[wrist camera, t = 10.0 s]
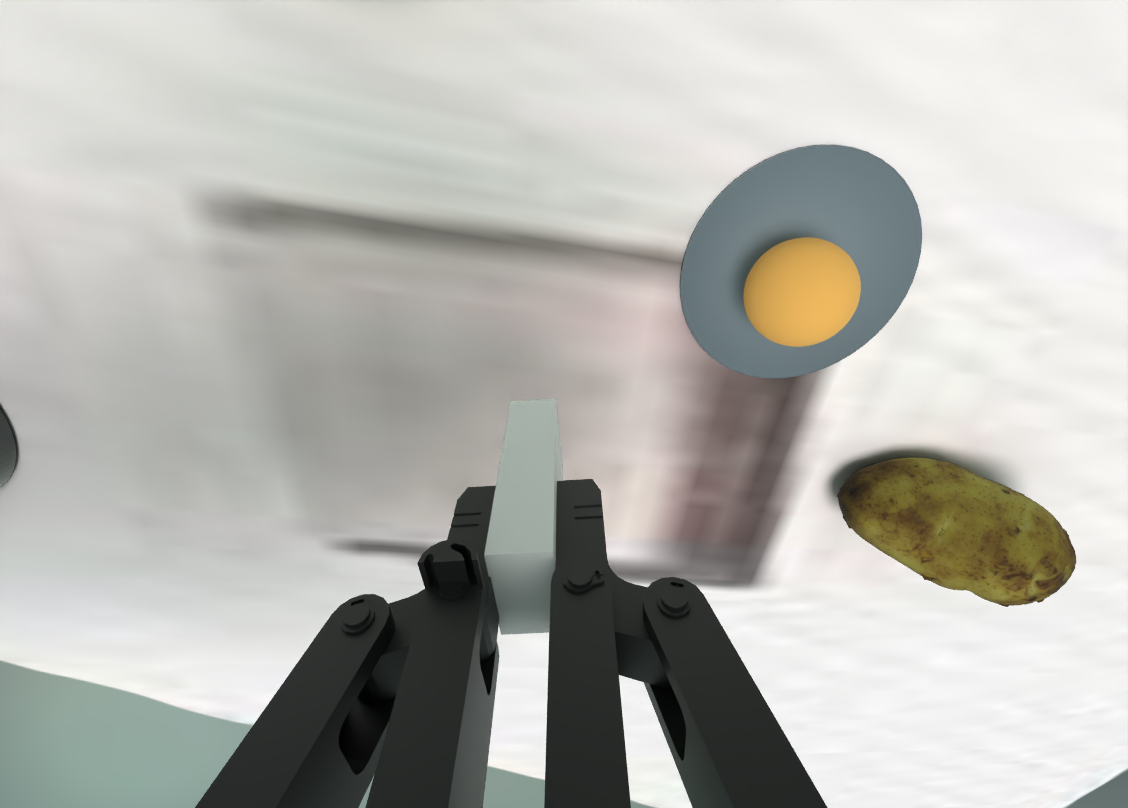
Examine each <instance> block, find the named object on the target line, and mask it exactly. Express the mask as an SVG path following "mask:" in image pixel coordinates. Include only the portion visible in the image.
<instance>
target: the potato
mask: <svg viewBox="0 0 1128 808" xmlns="http://www.w3.org/2000/svg"><path fill="white" fill-rule="evenodd" d="M837 497H838V500H839V506H840V509H841V511H842V514H843V518H844V520H845V521H846V523H847V525H848V527H849V528H852V529H853V530H854V531H855V532H856V533H857V534H858V535H859V536H860V537H861V538H863V539H864V540H865V541H867V542H868V543H870V544H872V545H873V546H874V547H876V548H877V549H879V550H880V551H882V552H883V553H885V554H887V555H888V556H890V557H892V558H894V559H895V560H897V561H898V562H900V563H902V564H903V565H905V566H907V567H908V568H910V569H911V570H913V571H915V572H916V573H918V574H920V575H921V576H922V577H923V578H924V580H929V581H931V582H933V583H935V584H937V585H940V586H942V587H945V588H948V589H953V590H968V591H971V592H972V593H974V594H975V595H977V596H979V597H981V598H983V599H985V600H988V601H990V602H994V603H997V604H1000V605H1002V606H1005V607H1008V606H1009V605H1022V604H1029V603H1033V602H1035V601H1037V602H1038V603H1039V602H1042V601H1043V600H1044V599H1045V598H1047V597H1049V596H1050V595H1052V594H1053V593H1055V592H1057V591H1058V590H1059V589H1060V588H1061V587H1062V586H1063V585H1064V584H1065V583H1066V582H1067V581H1068V579H1069V578H1070V576H1071V574H1072V573H1073V571H1074V569H1075V564H1076V555H1075V550H1074V548H1073V546H1072V544H1071V541H1070V539H1069V535H1068V534H1067V531H1065V530H1064V529H1063V528H1062V526H1061V525H1060V523H1059V522H1058V521H1057V520H1056V518H1055V517H1054V516H1053V515H1052V514H1051V513H1050V512H1048V511H1047V510H1046V509H1045V508H1044V507H1042V506H1041V505H1039V504H1038V503H1036V502H1035V501H1033V500H1031V499H1030V498H1028V497H1026V496H1024V494H1021V493H1019V492H1016V491H1014V490H1012V489H1010V488H1008V487H1006V486H1004V485H1002V484H999V483H997V482H994V481H991V480H988V479H985V478H983V477H980V476H978V475H975V474H973V473H972V472H970V471H968V470H966V469H964V468H962V467H960V466H958V465H955V464H952V463H948V462H944V461H939V460H934V459H928V458H898V459H892V460H888V461H884V462H881V463H877V464H874V465H871V466H868V467H865V468H862V469H860V470H858V471H856V472H855V473H854V474H852V475H851V476H850V477H849V478H848V479H847V481H846V482H845V483H844V484H843V485H842V487H841V489H840V490H839V493H838V495H837Z"/></svg>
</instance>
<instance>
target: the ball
mask: <svg viewBox="0 0 1128 808" xmlns="http://www.w3.org/2000/svg"><path fill="white" fill-rule="evenodd" d="M860 292H861V281H860V276H859V273H858V270H857V267H856V265H855V263H854V261H853V260H852V259H851V257H850V256H849V255H848V254H847V253H846V252H845V251H844V250H843V249H841V248H840V247H839V246H837V245H835V244H834V243H832V242H829V241H826V240H823V239H819V238H812V237H803V238H796V239H791V240H787V241H785V242H782V243H780V244H778V245H776V246H774V247H772V248H771V249H770V250H768V251H767V252H765V253H764V254H763V255H762V256H761V257H760V258H759V259H758V260H757V262H756V263H755V264H754V266H753V267H752V269H751V270H750V272H749V274H748V276H747V279H746V283H745V287H744V296H743V299H744V306H745V311H746V314H747V316H748V318H749V320H750V322H751V324H752V325H753V326H754V328H755V329H756V330H757V331H758V332H759V333H760V334H762V335H763V336H764V337H766V338H767V339H769V340H771V341H773V342H775V343H778V344H781V345H785V346H792V347H803V346H810V345H814V344H817V343H820V342H823V341H825V340H827V339H829V338H831V337H832V336H834V335H835V334H836V333H838V332H839V331H840V330H841V329H842V328H843V327H844V326H845V325H846V324H847V323H848V322H849V320H850V319H851V317H852V316H853V314H854V313H855V310H856V308H857V306H858V303H859V299H860Z"/></svg>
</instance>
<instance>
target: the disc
mask: <svg viewBox="0 0 1128 808" xmlns="http://www.w3.org/2000/svg"><path fill="white" fill-rule="evenodd" d="M803 237H812V238H819V239H823V240H826V241H829V242H832V243H834V244H835V245H837V246H839V247H840V248H841V249H843V250H844V251H845V252H846V253H847V254H848V255H849V256H850V257H851V259H852V260H853V261H854V263H855V265H856V267H857V270H858V273H859V276H860V281H861V292H860V299H859V303H858V306H857V308H856V310H855V313H854V314H853V316H852V317H851V319H850V320H849V322H848V323H847V324H846V325H845V326H844V327H843V328H842V329H841V330H840V331H839V332H838V333H836V334H835V335H834V336H832V337H831V338H829V339H827V340H825V341H823V342H820V343H817V344H814V345H810V346H803V347H792V346H785V345H781V344H778V343H775V342H773V341H771V340H769V339H767V338H766V337H764V336H763V335H762V334H760V333H759V332H758V331H757V330H756V329H755V328H754V326H753V325H752V324H751V322H750V320H749V318H748V316H747V314H746V311H745V306H744V299H743V296H744V287H745V283H746V279H747V276H748V274H749V272H750V270H751V269H752V267H753V266H754V264H755V263H756V262H757V260H758V259H759V258H760V257H761V256H762V255H763V254H764V253H765V252H767V251H768V250H770V249H771V248H772V247H774V246H776V245H778V244H780V243H782V242H785V241H787V240H791V239H796V238H803ZM921 244H922V227H921V218H920V214H919V209H918V205H917V203H916V201H915V198H914V196H913V193H912V191H911V190H910V188H909V187H908V185H907V183H906V182H905V180H904V179H903V178H902V177H901V176H900V175H899V174H898V172H897V171H896V170H895V169H894V168H893V167H891V166H890V165H889V164H887V163H886V162H885V161H883V160H882V159H880V158H878V157H876V156H874V155H872V154H870V153H868V152H865V151H862V150H859V149H855V148H852V147H846V146H838V145H814V146H808V147H801V148H797V149H793V150H790V151H786V152H783V153H780V154H778V155H776V156H773V157H771V158H769V159H766V160H764V161H763V162H761V163H759V164H757V165H756V166H754V167H752V168H751V169H749V170H748V171H746V172H745V173H743V174H742V175H741V176H739V177H738V178H737V179H735V180H734V181H733V182H732V183H731V184H730V185H729V186H728V187H727V188H726V189H724V190H723V191H722V192H721V193H720V194H719V196H718V197H717V198H716V199H715V200H714V201H713V203H712V204H711V205H710V206H709V207H708V209H707V210H706V212H705V213H704V215H703V216H702V218H701V219H700V221H699V222H698V224H697V226H696V228H695V230H694V232H693V234H692V236H691V238H690V241H689V244H688V246H687V249H686V252H685V256H684V260H683V264H682V269H681V278H680V297H681V303H682V309H683V313H684V316H685V319H686V322H687V324H688V326H689V328H690V330H691V332H692V334H693V336H694V338H695V339H696V340H697V342H698V343H699V345H700V346H701V347H702V348H703V349H704V350H705V351H706V352H707V353H708V354H709V355H710V356H711V357H712V358H714V359H715V360H716V361H718V362H719V363H720V364H722V365H724V366H726V367H728V368H729V369H732V370H734V371H737V372H739V373H742V374H746V375H750V376H754V377H763V378H786V377H794V376H800V375H804V374H808V373H812V372H815V371H818V370H821V369H823V368H826V367H828V366H830V365H832V364H835V363H837V362H839V361H840V360H842V359H844V358H846V357H847V356H849V355H851V354H852V353H854V352H855V351H856V350H858V349H859V348H861V347H862V346H863V345H865V344H866V343H867V342H868V341H869V340H870V339H872V338H873V337H874V336H875V335H876V334H877V333H878V332H879V331H880V330H881V329H882V328H883V327H884V326H885V325H886V324H887V322H888V321H889V320H890V319H891V317H892V316H893V315H894V313H895V312H896V311H897V309H898V308H899V306H900V305H901V303H902V301H903V300H904V298H905V296H906V294H907V292H908V290H909V288H910V286H911V284H912V282H913V279H914V276H915V273H916V270H917V267H918V263H919V258H920V253H921Z"/></svg>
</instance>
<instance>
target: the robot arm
mask: <svg viewBox="0 0 1128 808" xmlns="http://www.w3.org/2000/svg"><path fill="white" fill-rule="evenodd" d="M15 463H16V446H15V441H14V437H13V434H12V431H11V429H10V426H9V424H8V422H7V420H6V418H5V417H4V415H3V413H2V412H1V410H0V487H1V486H3V485H4V484H5V483H6V482H7V481H8V479H9V478H10V476H11V475H12V473H13V471H14V468H15ZM418 566H419V570H420V573H421V576H422V579H423V583H424V586H425V589H424V590H422V591H421V592H419V593H418V594H415V595H413V596H410V597H408V598H405V599H402V600H399V601H396V602H393V603H390V604H388V603H387V602H386V601H385V599H384V598H383V597H380V596H377V595H375V594H364V595H360V596H357V597H354V598H351V599H350V600H348V601H347V602H345V603H343V604H342V605H340V606H339V607H338V608H337V610H336V611H335V612H334V613H333V614H332V615H331V616H330V618H329V619H328V621H327V622H326V623H325V625H324V626H323V628H322V629H321V630H320V632H319V633H318V635H317V636H316V638H315V639H314V640H313V642H312V643H311V645H310V646H309V647H308V649H307V650H306V652H305V653H304V654H303V656H302V657H301V659H300V660H299V662H298V663H297V664H296V666H295V667H294V669H293V670H292V671H291V673H290V674H289V676H288V677H287V678H286V680H285V681H284V683H283V684H282V686H281V687H280V688H279V690H278V691H277V693H276V694H275V695H274V697H273V698H272V700H271V701H270V703H269V704H268V705H267V707H266V708H265V710H264V711H263V712H262V714H261V715H260V717H259V718H258V719H257V721H256V722H255V724H254V725H253V727H252V728H251V729H250V731H249V732H248V734H247V735H246V736H245V738H244V739H243V741H242V742H241V743H240V745H239V746H238V748H237V749H236V751H235V752H234V753H233V755H232V756H231V758H230V759H229V760H228V762H227V763H226V765H225V766H224V767H223V769H222V770H221V772H220V773H219V775H218V776H217V778H216V779H215V780H214V782H213V783H212V784H211V786H210V788H209V789H208V790H207V792H206V793H205V794H204V796H203V797H202V799H201V800H200V801H199V803H198V804H197V806H196V807H195V808H358V807H359V805H360V803H361V801H362V799H363V796H364V794H365V792H366V790H367V788H368V786H369V784H370V782H371V780H372V778H373V776H374V779H373V782H372V786H371V790H370V793H369V797H368V800H367V805H366V808H483V799H484V790H485V781H486V772H487V763H488V754H489V745H490V736H491V727H492V718H493V708H494V699H495V690H496V681H497V672H498V663H499V650H498V644H497V633H498V625H499V627H500V631H501V635H502V634H523V633H544V632H549V666H548V701H547V736H546V772H545V808H631V805H630V794H629V783H628V772H627V762H626V751H625V740H624V729H623V718H622V707H621V696H620V685H619V675H621V676H625V677H628V678H632V679H635V680H638V681H642V682H644V684H645V687H646V689H647V692H648V694H649V697H650V699H651V702H652V705H653V707H654V710H655V712H656V715H657V717H658V720H659V722H660V725H661V728H662V730H663V733H664V735H665V738H666V740H667V743H668V745H669V748H670V751H671V753H672V756H673V758H674V761H675V763H676V766H677V769H678V771H679V774H680V776H681V779H682V781H683V784H684V786H685V789H686V792H687V794H688V797H689V799H690V802H691V804H692V807H693V808H827V806H826V804H825V803H824V801H823V799H822V798H821V796H820V794H819V792H818V791H817V789H816V787H815V785H814V784H813V782H812V780H811V779H810V777H809V775H808V773H807V772H806V770H805V768H804V767H803V765H802V763H801V761H800V760H799V758H798V756H797V755H796V753H795V751H794V749H793V748H792V746H791V744H790V743H789V741H788V739H787V737H786V736H785V734H784V732H783V730H782V729H781V727H780V725H779V724H778V722H777V720H776V718H775V717H774V715H773V713H772V712H771V710H770V708H769V706H768V705H767V703H766V701H765V700H764V698H763V696H762V694H761V693H760V691H759V689H758V687H757V686H756V684H755V682H754V681H753V679H752V677H751V675H750V674H749V672H748V670H747V669H746V667H745V665H744V663H743V662H742V660H741V658H740V657H739V655H738V653H737V651H736V650H735V648H734V646H733V645H732V643H731V641H730V639H729V638H728V636H727V634H726V632H725V631H724V629H723V627H722V626H721V624H720V622H719V620H718V619H717V617H716V615H715V614H714V612H713V610H712V608H711V607H710V605H709V603H708V602H707V600H706V598H705V596H704V595H703V593H702V592H701V591H700V590H699V589H698V588H697V587H696V586H695V585H694V584H692V583H690V582H688V581H687V580H684V579H680V578H675V577H669V578H661V579H659V580H657V581H655V582H652V583H651V584H650V586H649V587H643V586H639V585H635V584H632V583H629V582H626V581H624V580H622V579H621V578H619V577H618V576H617V575H616V574H615V573H614V572H613V571H612V570H611V568H610V566H609V564H608V560H607V553H606V542H605V532H604V521H603V510H602V500H601V490H600V489H599V488H598V486H597V485H596V484H595V482H594V481H593V479H583V480H566V481H563V464H562V453H561V442H560V432H559V421H558V411H557V400H556V398H553V399H537V400H522V401H510V406H509V412H508V418H507V424H506V430H505V436H504V441H503V447H502V453H501V459H500V465H499V471H498V477H497V483H496V486H484V487H468V488H467V489H466V490H465V492H464V493H463V494H462V495H461V496H460V498H459V499H458V500H457V504H456V508H455V512H454V517H453V520H452V523H451V528H450V531H449V535H448V539H447V540H446V541H441V542H439V543H437V544H435V545H433V546H431V547H430V548H429V549H428V550H426V551H425V552H424V553H423V554H422V556H421V558H420V559H419V561H418ZM374 774H375V775H374Z"/></svg>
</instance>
